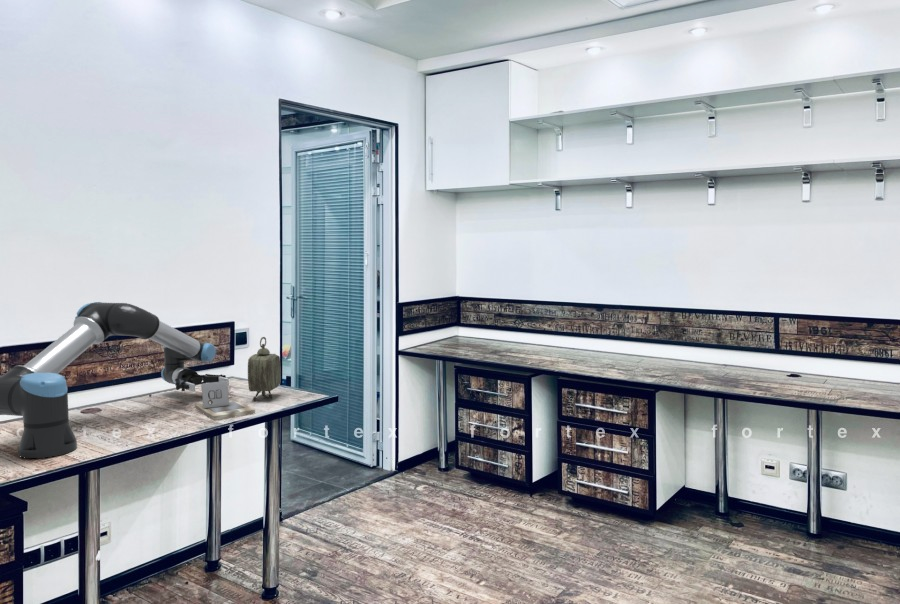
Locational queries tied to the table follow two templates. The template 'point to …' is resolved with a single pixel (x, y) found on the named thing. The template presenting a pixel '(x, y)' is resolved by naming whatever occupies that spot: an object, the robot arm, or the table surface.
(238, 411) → the mounting board
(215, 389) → the electrical switch
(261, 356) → the tabletop clock
